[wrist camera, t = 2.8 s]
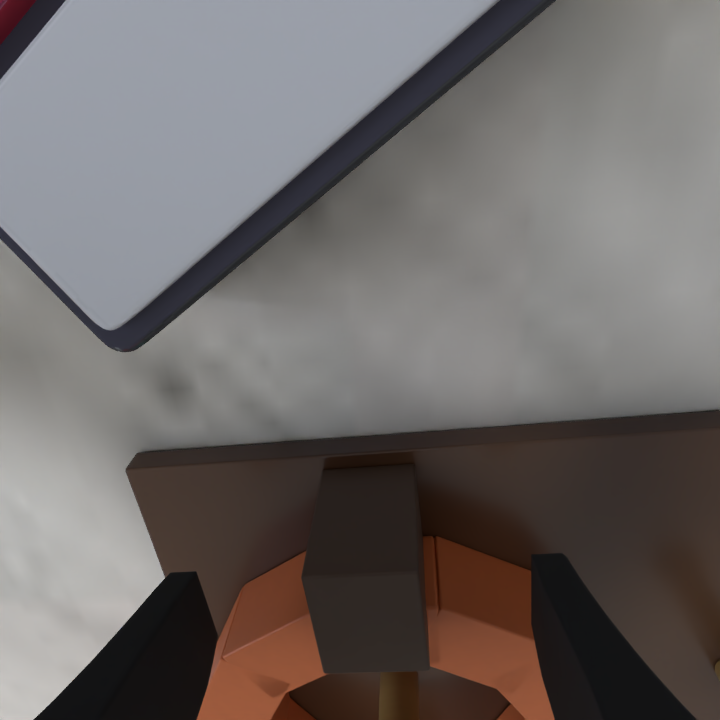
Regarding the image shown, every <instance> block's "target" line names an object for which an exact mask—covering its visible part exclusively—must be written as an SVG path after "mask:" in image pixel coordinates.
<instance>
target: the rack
mask: <svg viewBox="0 0 720 720" xmlns="http://www.w3.org/2000/svg"><path fill="white" fill-rule="evenodd" d="M403 464H414V465H415V469H416V478H417V487H418V497H419V506H420V516H421V525H422V535H423V536H433V538H435V537H436V536H438V537H441V538H444V539H446V540H449V541H452V542H455V543H457V544H460V545H463V546H465V547H468V548H471V549H473V550H476V551H479V552H481V553H484V554H487V555H490V556H492V557H495V558H498V559H500V560H503V561H506V562H508V563H511V564H514V565H516V566H519V567H522V568H525V569H527V570H530V571H531V554H551V553H563V554H564V555H565V556H566V557H567V558H568V559H569V561H570V563H571V564H572V566H573V567H574V569H575V570H576V572H577V574H578V575H579V577H580V578H581V580H582V581H583V583H584V584H585V585H586V587H587V588H588V590H589V591H590V593H591V594H592V595H593V597H594V598H595V599H596V601H597V602H598V604H599V605H600V606H601V608H602V609H603V610H604V612H605V613H606V614H607V616H608V617H609V618H610V620H611V621H612V622H613V623H614V625H615V626H616V627H617V629H618V630H619V631H620V632H621V634H622V635H623V636H624V637H625V639H626V640H627V641H628V642H629V644H630V645H631V646H632V647H633V649H634V650H635V651H636V652H637V653H638V655H639V656H640V657H641V658H642V659H643V660H644V662H645V663H646V664H647V665H648V666H649V668H650V669H651V670H652V671H653V672H654V673H655V674H656V676H657V677H658V678H659V679H660V680H661V681H662V682H663V683H664V685H665V686H666V687H667V688H668V689H669V690H670V691H671V692H672V693H673V695H674V696H675V697H676V698H677V699H678V700H679V701H680V702H681V703H682V704H683V705H684V706H685V708H686V709H687V710H688V711H689V712H690V713H691V714H692V715H693V716H694V717H695V718H696V719H697V720H720V411H709V412H695V413H682V414H668V415H654V416H640V417H627V418H613V419H599V420H585V421H572V422H558V423H544V424H530V425H517V426H503V427H489V428H475V429H462V430H448V431H434V432H420V433H407V434H393V435H379V436H365V437H352V438H338V439H324V440H310V441H297V442H283V443H269V444H255V445H242V446H228V447H214V448H200V449H187V450H173V451H159V452H145V453H137V454H136V455H135V456H134V458H133V459H132V461H131V462H130V463H129V465H128V466H127V468H126V474H127V476H128V479H129V482H130V484H131V487H132V490H133V492H134V495H135V498H136V500H137V503H138V506H139V508H140V511H141V514H142V516H143V519H144V522H145V524H146V527H147V530H148V532H149V535H150V538H151V541H152V543H153V546H154V549H155V551H156V554H157V557H158V559H159V562H160V565H161V567H162V570H163V573H164V575H165V578H166V577H167V575H168V574H169V573H172V572H192V571H196V572H197V575H198V578H199V581H200V584H201V587H202V589H203V592H204V595H205V598H206V601H207V604H208V607H209V610H210V613H211V616H212V619H213V622H214V625H215V628H216V631H217V634H218V639H219V637H220V635H221V633H222V630H223V628H224V626H225V624H226V622H227V620H228V617H229V615H230V613H231V611H232V609H233V606H234V604H235V602H236V600H237V598H238V595H239V593H240V591H241V589H242V587H243V586H245V584H247V583H248V582H250V581H252V580H254V579H256V578H258V577H259V576H261V575H263V574H265V573H267V572H268V571H270V570H272V569H274V568H276V567H278V566H279V565H281V564H283V563H285V562H287V561H289V560H290V559H292V558H294V557H296V556H298V555H299V554H301V553H303V552H305V551H306V550H307V545H308V540H309V535H310V530H311V525H312V520H313V515H314V510H315V505H316V500H317V495H318V490H319V485H320V480H321V475H322V471H323V470H328V469H343V468H358V467H373V466H388V465H403ZM218 639H217V641H218ZM289 696H290V698H291V699H292V700H294V701H295V702H296V703H297V704H298V705H299V706H301V707H302V708H303V709H304V710H305V711H307V712H308V713H309V714H310V715H311V716H312V717H314V718H315V719H316V720H497V718H498V717H499V716H500V715H501V714H502V713H503V712H504V711H505V709H506V708H507V707H508V706H509V705H510V704H511V703H510V702H509V701H508V700H507V699H506V698H505V697H504V696H503V695H502V694H501V693H500V692H499V691H498V690H497V689H495V688H493V687H490V686H487V685H484V684H481V683H478V682H475V681H472V680H469V679H466V678H463V677H460V676H457V675H454V674H452V673H449V672H446V671H443V670H440V669H437V668H434V667H431V666H430V669H429V671H413V672H374V673H335V674H327V675H325V676H322V677H320V678H318V679H316V680H314V681H311V682H309V683H307V684H305V685H303V686H300V687H298V688H296V689H294V690H292V691H289Z"/></svg>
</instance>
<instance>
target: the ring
mask: <svg viewBox="0 0 720 720" xmlns="http://www.w3.org/2000/svg"><path fill="white" fill-rule="evenodd" d="M430 666H431V667H434V668H437V669H440V670H443V671H446V672H449V673H452V674H454V675H457V676H460V677H463V678H466V679H469V680H472V681H475V682H478V683H481V684H484V685H487V686H490V687H493V688H495V689H497V690H498V691H499V692H500V693H501V694H502V695H503V696H504V697H505V698H506V699H507V700H508V701H509V702H510V703H511V704H510V705H509V706H508V707H507V708H506V709H505V711H504V712H503V713H502V714H501V715H500V716H499V717H498V718H497V720H555V719H554V715H553V712H552V709H551V705H550V702H549V699H548V696H547V692H546V689H545V686H544V682H543V679H542V675H541V670H540V666H539V661H538V656H537V651H536V646H535V641H534V635H533V630H532V625H531V571H530V570H527V569H525V568H522V567H519V566H516V565H514V564H511V563H508V562H506V561H503V560H500V559H498V558H495V557H492V556H490V555H487V554H484V553H481V552H479V551H476V550H473V549H471V548H468V547H465V546H463V545H460V544H457V543H455V542H452V541H449V540H446V539H444V538H441V537H438V536H436V537H435V538H433V536H423V535H422V525H421V516H420V506H419V497H418V487H417V478H416V469H415V465H414V464H403V465H388V466H373V467H358V468H343V469H328V470H323V471H322V475H321V480H320V485H319V490H318V495H317V500H316V505H315V510H314V515H313V520H312V525H311V530H310V535H309V540H308V545H307V550H306V551H305V552H303V553H301V554H299V555H298V556H296V557H294V558H292V559H290V560H289V561H287V562H285V563H283V564H281V565H279V566H278V567H276V568H274V569H272V570H270V571H268V572H267V573H265V574H263V575H261V576H259V577H258V578H256V579H254V580H252V581H250V582H248V583H247V584H245V586H243V587H242V589H241V591H240V593H239V595H238V598H237V600H236V602H235V604H234V606H233V609H232V611H231V613H230V615H229V617H228V620H227V622H226V624H225V626H224V628H223V630H222V633H221V635H220V637H219V639H218V641H217V644H216V649H215V655H214V660H213V665H212V669H211V674H210V678H209V682H208V686H207V690H206V693H205V696H204V699H203V702H202V705H201V708H200V711H199V714H198V717H197V720H316V719H315V718H314V717H312V716H311V715H310V714H309V713H308V712H307V711H305V710H304V709H303V708H302V707H301V706H299V705H298V704H297V703H296V702H295V701H294V700H292V699H291V698H290V696H289V691H292V690H294V689H296V688H298V687H300V686H303V685H305V684H307V683H309V682H311V681H314V680H316V679H318V678H320V677H322V676H325V675H327V674H335V673H374V672H413V671H429V669H430Z"/></svg>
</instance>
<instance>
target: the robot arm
mask: <svg viewBox="0 0 720 720" xmlns="http://www.w3.org/2000/svg"><path fill="white" fill-rule="evenodd" d="M531 625H532V630H533V635H534V641H535V646H536V651H537V656H538V661H539V666H540V670H541V675H542V679H543V682H544V686H545V689H546V692H547V696H548V699H549V702H550V705H551V709H552V712H553V715H554V719H555V720H697V719H696V718H695V717H694V716H693V715H692V714H691V713H690V712H689V711H688V710H687V709H686V708H685V706H684V705H683V704H682V703H681V702H680V701H679V700H678V699H677V698H676V697H675V696H674V695H673V693H672V692H671V691H670V690H669V689H668V688H667V687H666V686H665V685H664V683H663V682H662V681H661V680H660V679H659V678H658V677H657V676H656V674H655V673H654V672H653V671H652V670H651V669H650V668H649V666H648V665H647V664H646V663H645V662H644V660H643V659H642V658H641V657H640V656H639V655H638V653H637V652H636V651H635V650H634V649H633V647H632V646H631V645H630V644H629V642H628V641H627V640H626V639H625V637H624V636H623V635H622V634H621V632H620V631H619V630H618V629H617V627H616V626H615V625H614V623H613V622H612V621H611V620H610V618H609V617H608V616H607V614H606V613H605V612H604V610H603V609H602V608H601V606H600V605H599V604H598V602H597V601H596V599H595V598H594V597H593V595H592V594H591V593H590V591H589V590H588V588H587V587H586V585H585V584H584V583H583V581H582V580H581V578H580V577H579V575H578V574H577V572H576V570H575V569H574V567H573V566H572V564H571V563H570V561H569V559H568V558H567V557H566V556H565V555H564V554H563V553H551V554H531ZM217 639H218V634H217V631H216V628H215V625H214V622H213V619H212V616H211V613H210V610H209V607H208V604H207V601H206V598H205V595H204V592H203V589H202V587H201V584H200V581H199V578H198V575H197V572H196V571H192V572H172V573H169V574H168V575H167V577H166V578H165V579H164V580H163V581H162V582H161V583H160V584H159V586H158V587H157V588H156V589H155V590H154V591H153V592H152V594H151V595H150V596H149V597H148V598H147V599H146V600H145V602H144V603H143V604H142V605H141V606H140V607H139V608H138V610H137V611H136V612H135V613H134V614H133V615H132V616H131V618H130V619H129V620H128V621H127V622H126V623H125V624H124V626H123V627H122V628H121V629H120V630H119V631H118V632H117V634H116V635H115V636H114V637H113V638H112V639H111V640H110V641H109V642H108V644H107V645H106V646H105V647H104V648H103V649H102V650H101V651H100V652H99V654H98V655H97V656H96V657H95V658H94V659H93V660H92V661H91V662H90V663H89V664H88V665H87V666H86V668H85V669H84V670H83V671H82V672H81V673H80V674H79V675H78V676H77V677H76V678H75V679H74V680H73V681H72V682H71V683H70V684H69V685H68V686H67V687H66V688H65V689H64V690H63V691H62V692H61V693H60V694H59V695H58V697H57V698H56V699H55V700H54V701H53V702H52V703H51V704H50V705H48V706H47V707H46V708H45V709H44V710H43V711H42V712H41V713H40V714H39V715H38V716H37V717H36V718H35V719H34V720H197V717H198V714H199V711H200V708H201V705H202V702H203V699H204V696H205V693H206V690H207V686H208V682H209V678H210V674H211V669H212V665H213V660H214V655H215V649H216V644H217Z"/></svg>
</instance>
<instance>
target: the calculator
mask: <svg viewBox="0 0 720 720" xmlns="http://www.w3.org/2000/svg"><path fill="white" fill-rule="evenodd" d="M555 1H556V0H0V239H1V240H2V241H3V242H4V243H5V244H6V245H7V246H8V247H9V248H10V249H11V250H12V251H13V252H14V253H15V254H16V255H17V256H18V257H19V258H20V259H21V260H22V261H23V262H24V263H25V264H26V265H27V266H28V267H29V268H30V269H31V270H32V271H33V272H34V273H35V274H36V275H37V276H38V277H39V278H40V279H41V280H42V281H43V282H44V283H45V284H46V285H47V286H48V287H49V288H50V289H51V290H52V291H53V292H54V293H55V294H56V295H57V297H58V298H59V299H60V300H61V301H62V302H63V303H64V304H65V305H66V306H67V307H68V308H69V309H70V310H71V311H72V312H73V313H74V314H75V315H76V316H77V317H78V318H79V319H80V320H81V321H82V322H83V323H84V324H85V325H86V326H87V327H88V328H89V329H90V330H91V331H92V332H93V333H94V334H95V335H96V336H97V337H98V338H99V339H100V340H101V341H102V342H104V343H105V344H106V345H107V346H108V347H110V348H112V349H114V350H116V351H120V352H131V351H134V350H136V349H138V348H139V347H141V346H142V345H144V344H145V343H146V342H148V341H149V340H150V339H151V338H153V337H154V336H155V335H156V334H158V333H159V332H160V331H161V330H162V329H164V328H165V327H166V326H167V325H168V324H170V323H171V322H172V321H173V320H174V319H176V318H177V317H178V316H179V315H180V314H182V313H183V312H184V311H185V310H186V309H188V308H189V307H190V306H191V305H192V304H193V303H195V302H196V301H197V300H198V299H199V298H201V297H202V296H203V295H204V294H205V293H207V292H208V291H209V290H210V289H211V288H213V287H214V286H215V285H216V284H217V283H219V282H220V281H221V280H222V279H223V278H225V277H226V276H227V275H228V274H229V273H231V272H232V271H233V270H234V269H235V268H237V267H238V266H239V265H240V264H241V263H243V262H244V261H245V260H246V259H247V258H248V257H250V256H251V255H252V254H253V253H254V252H256V251H257V250H258V249H259V248H260V247H262V246H263V245H264V244H265V243H266V242H268V241H269V240H270V239H271V238H272V237H274V236H275V235H276V234H277V233H278V232H280V231H281V230H282V229H283V228H284V227H286V226H287V225H288V224H289V223H290V222H292V221H293V220H294V219H295V218H296V217H298V216H299V215H300V214H301V213H302V212H303V211H305V210H306V209H307V208H308V207H309V206H311V205H312V204H313V203H314V202H315V201H317V200H318V199H319V198H320V197H321V196H323V195H324V194H325V193H326V192H327V191H329V190H330V189H331V188H332V187H333V186H335V185H336V184H337V183H338V182H339V181H341V180H342V179H343V178H344V177H345V176H347V175H348V174H349V173H350V172H351V171H353V170H354V169H355V168H356V167H357V166H359V165H360V164H361V163H362V162H363V161H364V160H366V159H367V158H368V157H369V156H370V155H372V154H373V153H374V152H375V151H376V150H378V149H379V148H380V147H381V146H382V145H384V144H385V143H386V142H387V141H388V140H390V139H391V138H392V137H393V136H394V135H396V134H397V133H398V132H399V131H400V130H402V129H403V128H404V127H405V126H406V125H408V124H409V123H410V122H411V121H412V120H414V119H415V118H416V117H417V116H418V115H419V114H421V113H422V112H423V111H424V110H425V109H427V108H428V107H429V106H430V105H431V104H433V103H434V102H435V101H436V100H437V99H439V98H440V97H441V96H442V95H443V94H445V93H446V92H447V91H448V90H449V89H451V88H452V87H453V86H454V85H455V84H457V83H458V82H459V81H460V80H461V79H463V78H464V77H465V76H466V75H467V74H469V73H470V72H471V71H472V70H473V69H474V68H476V67H477V66H478V65H479V64H480V63H482V62H483V61H484V60H485V59H486V58H488V57H489V56H490V55H491V54H492V53H494V52H495V51H496V50H497V49H498V48H500V47H501V46H502V45H503V44H504V43H506V42H507V41H508V40H509V39H510V38H512V37H513V36H514V35H515V34H516V33H518V32H519V31H520V30H521V29H522V28H524V27H525V26H526V25H527V24H528V23H529V22H531V21H532V20H533V19H534V18H535V17H537V16H538V15H539V14H540V13H541V12H543V11H544V10H545V9H546V8H547V7H549V6H550V5H551V4H552V3H553V2H555Z"/></svg>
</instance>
